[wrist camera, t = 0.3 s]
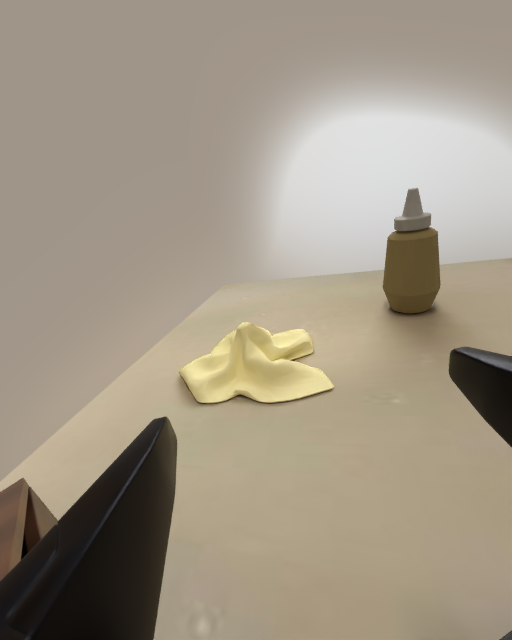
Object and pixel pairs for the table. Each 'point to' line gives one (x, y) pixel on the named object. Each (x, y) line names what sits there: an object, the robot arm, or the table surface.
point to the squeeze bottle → (412, 260)
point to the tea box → (36, 522)
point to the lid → (12, 525)
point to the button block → (507, 636)
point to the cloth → (256, 367)
